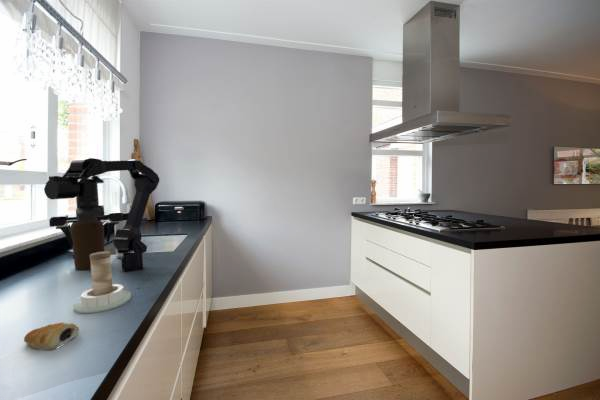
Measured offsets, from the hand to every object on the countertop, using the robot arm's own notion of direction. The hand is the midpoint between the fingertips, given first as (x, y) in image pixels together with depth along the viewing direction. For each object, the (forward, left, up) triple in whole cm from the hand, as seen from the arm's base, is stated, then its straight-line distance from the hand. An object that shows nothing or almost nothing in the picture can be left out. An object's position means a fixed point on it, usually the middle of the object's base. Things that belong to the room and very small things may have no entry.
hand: (90, 244), depth 91 cm
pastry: (+6, +37, -14) cm, 40 cm away
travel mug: (-10, -32, -13) cm, 36 cm away
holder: (-3, +20, -13) cm, 24 cm away
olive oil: (+2, -24, -13) cm, 27 cm away
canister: (-3, +20, -12) cm, 24 cm away
